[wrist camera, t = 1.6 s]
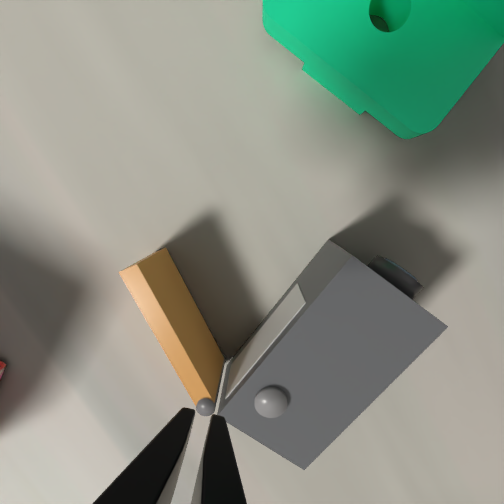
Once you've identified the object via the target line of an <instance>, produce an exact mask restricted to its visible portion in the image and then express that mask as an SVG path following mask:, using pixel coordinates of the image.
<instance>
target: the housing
mask: <svg viewBox="0 0 504 504" xmlns="http://www.w3.org/2000/svg"><path fill="white" fill-rule="evenodd" d="M423 288H424V287H423V286H422V285H421V284H420V283H418V282H417V279H416V278H415V277H414V276H412V275H411V274H410V273H408V272H407V271H406V270H404V269H403V268H401V267H400V266H398V265H397V264H395V263H394V262H392V261H390V260H389V259H387V258H385V259H384V258H382V257H380V256H378V255H377V256H376V257H375V258H374V259H373V260H372V262H371V263H370V264H369V265H368V266H366V265H365V264H364V263H362V262H361V261H360V260H358V259H357V258H356V257H354V256H353V255H351V254H350V253H348V252H347V251H345V250H344V249H342V248H341V247H339V246H338V245H336V244H335V243H333V242H332V241H330V240H329V239H328V241H327V242H326V243H325V244H324V246H323V247H322V248H321V249H320V250H319V252H318V253H317V254H316V255H315V257H314V258H313V259H312V260H311V262H310V263H309V264H308V265H307V267H306V268H305V269H304V270H303V272H302V273H301V274H300V275H299V277H298V278H297V279H296V280H295V281H294V283H293V284H292V285H291V286H290V288H289V289H288V290H287V291H286V293H285V294H284V295H283V296H282V298H281V299H280V300H279V301H278V303H277V304H276V305H275V306H274V308H273V309H272V310H271V311H270V312H269V314H268V315H267V316H266V317H265V319H264V320H263V321H262V322H261V324H260V325H259V326H258V327H257V329H256V330H255V331H254V332H253V334H252V335H251V336H250V337H249V338H248V340H247V341H246V342H245V343H244V345H243V346H242V347H241V348H240V350H239V351H238V352H237V353H236V355H235V356H234V357H233V358H232V360H231V361H230V362H229V363H228V365H227V368H226V373H225V378H224V383H223V388H222V393H221V398H220V404H219V409H218V414H217V415H220V416H223V417H225V420H226V422H227V423H229V424H231V425H232V426H234V427H235V428H237V429H239V430H240V431H242V432H244V433H245V434H247V435H248V436H250V437H252V438H253V439H255V440H256V441H258V442H260V443H261V444H263V445H265V446H266V447H268V448H269V449H271V450H273V451H274V452H276V453H277V454H279V455H281V456H282V457H284V458H286V459H287V460H289V461H290V462H292V463H294V464H295V465H297V466H298V467H300V468H302V469H303V470H305V469H306V468H307V467H308V466H309V465H310V464H311V463H312V462H313V461H314V460H315V459H316V458H317V457H318V456H319V455H320V454H321V453H322V452H323V451H324V450H325V449H326V448H327V447H328V446H329V445H330V444H331V443H332V442H333V441H334V440H335V439H336V438H337V437H338V436H339V435H340V434H341V433H342V432H343V431H344V430H345V429H346V428H347V427H348V426H349V425H350V424H351V423H352V422H353V421H354V420H355V419H356V418H357V417H358V416H359V415H360V414H361V413H362V412H363V411H364V410H365V409H366V408H367V407H368V406H369V405H370V404H371V403H372V402H373V401H374V400H375V399H376V398H377V397H378V396H379V395H380V394H381V393H382V392H383V391H384V390H385V389H386V388H387V387H388V386H389V385H390V384H391V383H392V382H393V381H394V380H395V379H396V378H397V377H398V376H399V375H400V374H401V373H402V372H403V371H404V370H405V369H406V368H407V367H408V366H409V365H410V364H411V363H412V362H413V361H414V360H415V359H416V358H417V357H418V356H419V355H420V354H421V353H422V352H423V351H424V350H425V349H426V348H427V347H428V346H429V345H430V344H431V343H432V342H433V341H434V340H435V339H436V338H437V337H438V336H439V335H440V334H441V333H442V332H443V331H444V330H445V329H446V328H447V327H448V326H447V325H445V324H444V323H443V322H441V321H440V320H439V319H437V318H436V317H435V316H433V315H432V314H431V313H429V312H428V311H427V310H425V309H424V308H423V307H421V306H420V305H419V304H417V303H416V302H415V301H413V300H412V299H413V298H414V297H415V296H416V295H417V294H418V293H419V292H420V291H421V290H422V289H423Z"/></svg>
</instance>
